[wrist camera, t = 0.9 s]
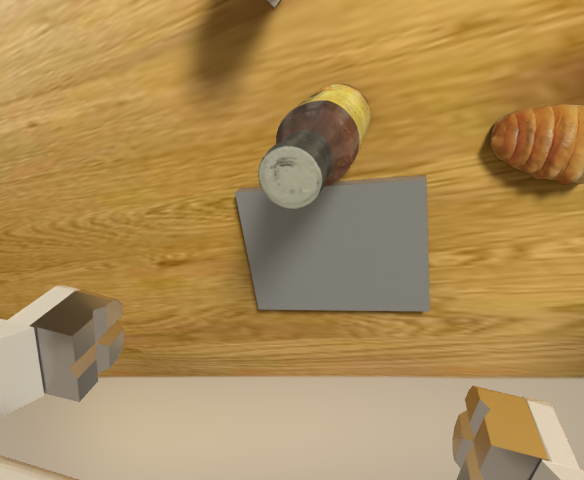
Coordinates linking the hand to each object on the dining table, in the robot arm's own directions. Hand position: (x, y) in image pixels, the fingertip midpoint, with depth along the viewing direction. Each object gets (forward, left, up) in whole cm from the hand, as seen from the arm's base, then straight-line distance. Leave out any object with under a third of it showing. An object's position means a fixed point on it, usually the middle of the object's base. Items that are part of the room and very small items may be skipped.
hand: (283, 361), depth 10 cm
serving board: (+6, +14, -36) cm, 39 cm away
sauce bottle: (+4, 0, -37) cm, 37 cm away
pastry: (-15, +4, -37) cm, 40 cm away
